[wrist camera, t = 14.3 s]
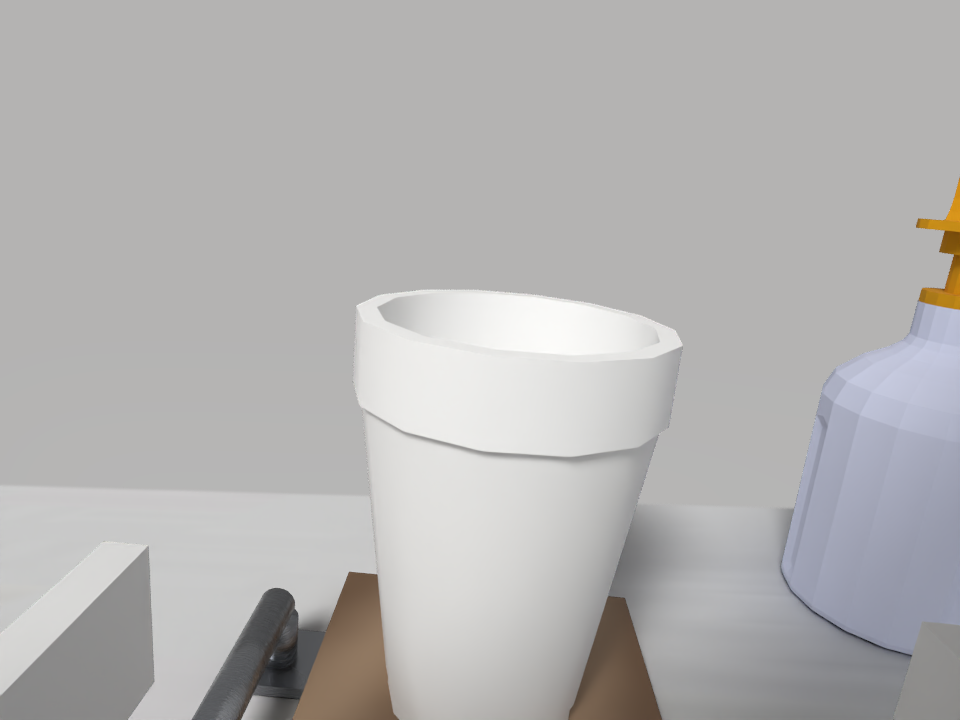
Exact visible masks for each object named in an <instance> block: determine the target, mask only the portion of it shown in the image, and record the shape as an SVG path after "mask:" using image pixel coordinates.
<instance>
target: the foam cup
mask: <svg viewBox="0 0 960 720" xmlns="http://www.w3.org/2000/svg"><path fill="white" fill-rule="evenodd" d="M682 348H683V345H682V343H681V341H680V339H679V337H678V335H677V333H676V331H675V330H673V329H671V328H669V327H666V326H664V325H662V324H660V323H657V322H655V321H653V320H650V319H648V318H646V317H644V316H641V315H637V314H633V313H629V312H625V311H621V310H617V309H613V308H608V307H605V306H601V305H596V304H593V303H587V302H580V301H573V300H567V299H561V298H554V297H548V296H541V295H534V294H521V293H509V292H497V291H484V290H417V291H409V292H400V293H391V294H382V295H378V296H376V297H374V298H372V299H370V300H367V301H365V302H363V303H360V304H358V305H356V322H355V349H354V373H353V383H354V387H355V391H356V395H357V398H358V402H359V406H361V407H362V412H363V423H364V433H365V445H366V454H367V466H368V477H369V487H370V499H371V510H372V521H373V531H374V542H375V553H376V564H377V575H378V586H379V596H380V607H381V618H382V629H383V640H384V651H385V662H386V669H387V675H388V685H389V691H390V696H391V702H392V708H393V713H394V714H395V715H396V717H397V718H398V719H399V720H568V718H569V711H570V709H571V708H572V706H573V705H574V702H575V699H576V696H577V692H578V689H579V686H580V683H581V680H582V677H583V673H584V670H585V667H586V664H587V661H588V658H589V655H590V651H591V648H592V645H593V642H594V639H595V636H596V632H597V629H598V626H599V623H600V620H601V617H602V613H603V610H604V607H605V604H606V601H607V598H608V594H609V591H610V588H611V585H612V582H613V579H614V575H615V572H616V569H617V566H618V563H619V560H620V556H621V553H622V550H623V547H624V544H625V541H626V537H627V534H628V531H629V528H630V525H631V522H632V518H633V515H634V512H635V509H636V506H637V503H638V499H639V496H640V493H641V490H642V487H643V484H644V480H645V477H646V474H647V471H648V467H649V464H650V461H651V458H652V455H653V452H654V448H655V446H656V442H657V439H658V436H659V433H661V432H662V431H664V430H665V429H667V428H668V427H669V424H670V418H671V412H672V406H673V401H674V394H675V389H676V383H677V377H678V371H679V365H680V360H681V354H682Z"/></svg>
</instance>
